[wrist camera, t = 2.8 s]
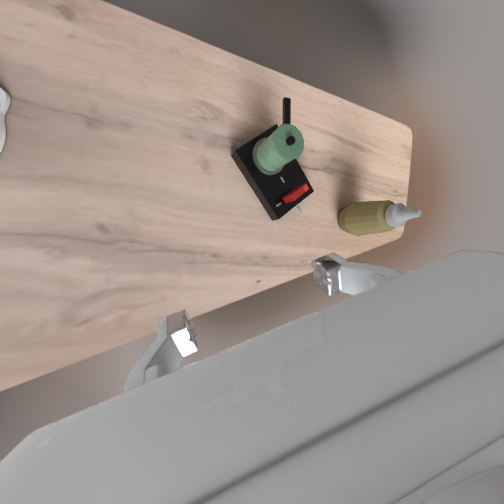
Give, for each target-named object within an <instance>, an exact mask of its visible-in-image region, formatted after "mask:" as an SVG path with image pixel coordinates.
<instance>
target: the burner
mask: <svg viewBox="0 0 504 504" xmlns="http://www.w3.org/2000/svg"><path fill="white" fill-rule="evenodd" d="M266 139H267V138H263V139H261V140H259V141H258V142H257V143H256V144H255V146H254V148H253V152H252V157H253V162H254V164H255V166H256V167H257V169H258V170H259V171H260V172H262V173H264V174H266V175H274V174H277V173H278V172H280V171H281V170H282V168H283V167H284V165H283V166H282V167H280V168H278V169H276V170H274V171H269V170H266V169H264V168H263V167H262V166H261V165H260V164H259V162H258V159H257V149H258V147H259V145H260V144H261V143H262V142H264V141H265V140H266Z"/></svg>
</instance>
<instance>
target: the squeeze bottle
mask: <svg viewBox="0 0 504 504" xmlns="http://www.w3.org/2000/svg"><path fill="white" fill-rule="evenodd" d="M420 215H421V210H415V209H407V208H406V207H405V205H404V204H401V203H398V204H394V202H392V201H389V200H387V201H369V202H356V203H353V204H351V205H350V206H348V207H346V208H345V209H343V210H342V211H341V212H340V214H339V217H338V223H339V226H340V228H341V229H342V230H343V231H346V232H348V233H350V234H353V235H356V236H359V235H366V234H373V233H381V232H388V231H392V230H393V229H394V228H395V227H400V226H403V225H404V224H405V223H406V221H407V220H408V219H411V218H415V217H418V216H420Z"/></svg>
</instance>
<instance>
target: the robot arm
mask: <svg viewBox="0 0 504 504" xmlns="http://www.w3.org/2000/svg"><path fill="white" fill-rule="evenodd" d="M10 102H11V98H10V96H9V94H8V93H7V92H6V91H5V90H4V89H2V88H1V87H0V153H1V151H2V149H3V147H4V144H5V140H6V125H5V115H6V113H7V111H8V108H9V106H10ZM311 264H312V267H313V268H314V271H313V277H314V280H315V282H316V283H317V284H318V285H319V286H321V287H323V290H324V291H325V292H326V293H327V294H328V295H329V296H330V295H333V294H335V293H338V292H340V291H342V292H344V293H347V294H350V295H353V296H350V297H348V298H346V299H343V300H341V301H339V302H336V303H334V304H332V305H329V306H327V307H325V308H322V309H320V310H318V311H315V312H313V313H310V314H308V315H306V316H303V317H301V318H299V319H296V320H294V321H292V322H289V323H287V324H285V325H282V326H280V327H277V328H275V329H273V330H270V331H268V332H266V333H263V334H261V335H259V336H256V337H254V338H251V339H249V340H247V341H244V342H242V343H240V344H237V345H235V346H233V347H230V348H228V349H226V350H223V351H221V352H218V353H216V354H214V355H211V356H210V357H207V358H204V359H202V360H200V361H197V362H196V363H193V364H190V365H188V366H186V367H183V368H181V369H178V368H179V366H180V363H181V361H182V359H183V357H184V356H187V355H189V354H191V353H194V352H196V351H197V342H196V340H195V337H196V333H195V329H194V326H193V323H192V321H191V320H189V316H188V313H187V311H186V310H183V311H180V312H177V313H174V314H172V315H169V316H166V317H163V318H161V319H159V321H158V332H157V339H156V340H154V341H153V343H152V344H151V345H150V347H149V348H148V349H147V351H146V352H145V353H144V354H143V356H142V357H141V358H140V359H139V361H138V362H137V363H136V365H135V366H134V367H133V369H132V370H131V371H130V372H129V374H128V375H127V377H126V381H125V386H124V391H123V393H122V394H120V395H117V396H115V397H113V398H110V399H108V400H105V401H103V402H101V403H98V404H96V405H94V406H91V407H89V408H87V409H84V410H82V411H80V412H77V413H75V414H72V415H70V416H68V417H66V418H63V419H61V420H58V421H56V422H53V423H51V424H48V425H46V426H43V427H41V428H40V429H37V430H35V431H34V432H32V433H31V434H29V435H28V436H27V437H26V438H25V439H24V440H23V441H21V442H20V443H19V444H18V445H17V446H16V447H15V448H14V449H13V450H12V451H11V452H10V453H9V454H8V455H7V456H6V457H5V458H4V459H3V460H2V461H1V462H0V504H504V253H500V252H491V251H480V250H460V251H456V252H454V253H452V254H449V255H447V256H445V257H442V258H440V259H437V260H435V261H433V262H431V263H428V264H426V265H423V266H421V267H419V268H417V269H414V270H412V271H410V272H407V273H405V274H402V273H400V272H398V271H397V270H394V269H393V268H391V267H385V266H379V265H371V264H364V263H357V262H348V261H347V260H345V259H344V258H342V257H340V256H339V255H337V254H336V253H333V252H332V253H330V254H328V255H326V256H323V257H321V258H318V259H316V260H313V261H312V263H311Z"/></svg>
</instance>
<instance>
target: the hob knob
mask: <svg viewBox="0 0 504 504" xmlns="http://www.w3.org/2000/svg"><path fill="white" fill-rule="evenodd" d="M307 190H309V187H308V186H307V184H306V183H305V184H302V185H300V186H297V187H296V188H294V189H293V190H292V191H290V192H289V193H288V194H286V195H285V196H284V197H282V199H283V200H284V202H285V203H288V202H292V201H295V200H296V199H297V198H298V197H300V196H301V195H302V194H304V193H305V192H306V191H307Z"/></svg>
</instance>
